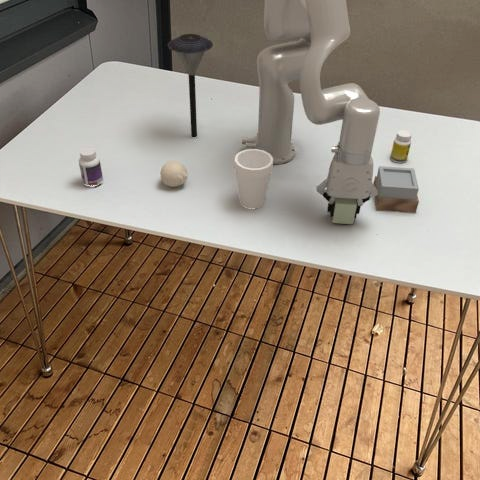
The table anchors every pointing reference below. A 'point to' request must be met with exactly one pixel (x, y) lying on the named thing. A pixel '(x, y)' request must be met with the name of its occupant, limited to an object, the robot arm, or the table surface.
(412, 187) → the grey block
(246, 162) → the foam cup
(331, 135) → the table surface
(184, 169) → the cream round ball
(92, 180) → the pill bottle
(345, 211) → the sage block
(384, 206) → the walnut block
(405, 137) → the supplement bottle
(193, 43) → the solar garden light
